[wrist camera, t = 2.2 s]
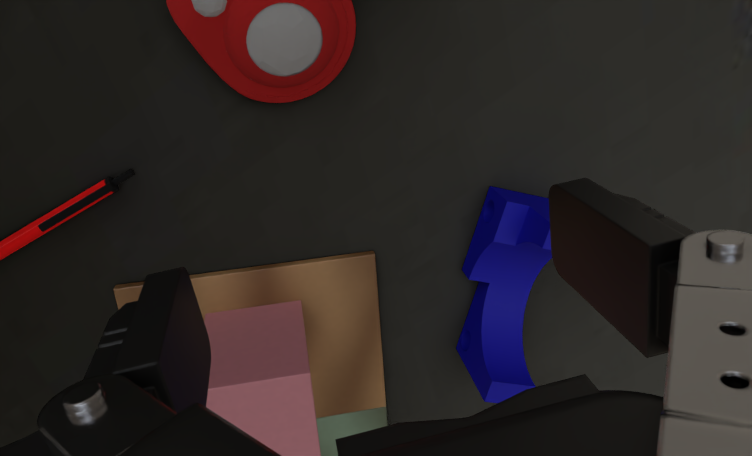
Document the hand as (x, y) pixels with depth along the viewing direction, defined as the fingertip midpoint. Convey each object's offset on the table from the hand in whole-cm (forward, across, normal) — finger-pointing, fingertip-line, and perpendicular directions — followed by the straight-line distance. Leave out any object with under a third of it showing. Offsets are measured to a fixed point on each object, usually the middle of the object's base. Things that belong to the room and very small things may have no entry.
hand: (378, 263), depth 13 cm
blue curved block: (+24, -10, +14) cm, 29 cm away
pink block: (+23, +6, +16) cm, 28 cm away
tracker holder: (+24, -1, -5) cm, 24 cm away
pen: (+24, +19, +6) cm, 31 cm away
